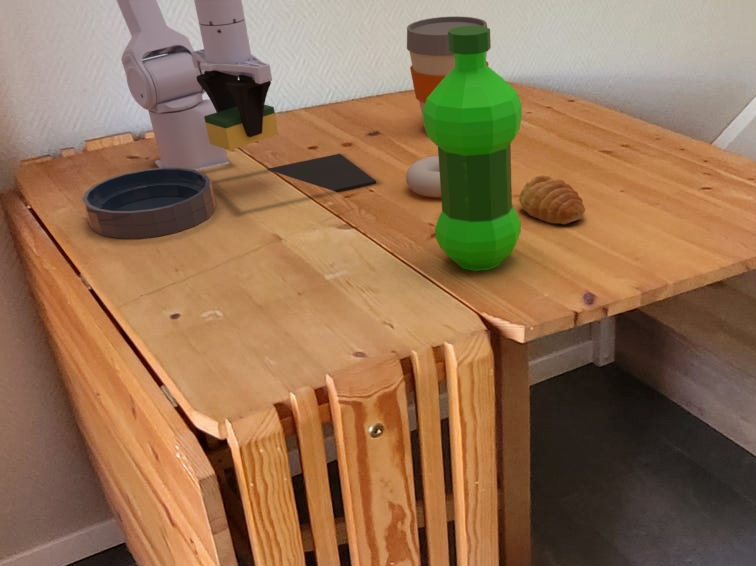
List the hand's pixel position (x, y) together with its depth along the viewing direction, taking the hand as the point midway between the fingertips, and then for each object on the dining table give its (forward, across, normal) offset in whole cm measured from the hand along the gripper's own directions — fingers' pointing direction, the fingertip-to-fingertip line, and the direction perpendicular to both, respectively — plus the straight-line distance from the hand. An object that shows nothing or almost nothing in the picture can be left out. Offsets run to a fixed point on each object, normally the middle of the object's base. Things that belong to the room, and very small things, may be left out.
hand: (243, 131), depth 129 cm
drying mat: (+8, +1, +6) cm, 10 cm away
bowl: (+8, -3, -14) cm, 17 cm away
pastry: (+9, +38, +19) cm, 43 cm away
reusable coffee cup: (+9, +3, +37) cm, 38 cm away
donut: (+9, +20, +17) cm, 28 cm away
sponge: (+1, 0, 0) cm, 1 cm away
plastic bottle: (+9, +41, +2) cm, 42 cm away
